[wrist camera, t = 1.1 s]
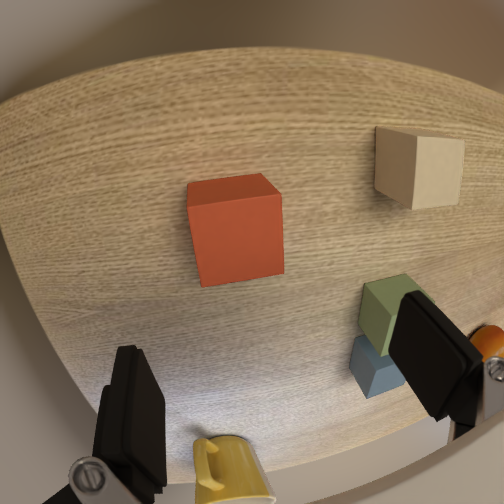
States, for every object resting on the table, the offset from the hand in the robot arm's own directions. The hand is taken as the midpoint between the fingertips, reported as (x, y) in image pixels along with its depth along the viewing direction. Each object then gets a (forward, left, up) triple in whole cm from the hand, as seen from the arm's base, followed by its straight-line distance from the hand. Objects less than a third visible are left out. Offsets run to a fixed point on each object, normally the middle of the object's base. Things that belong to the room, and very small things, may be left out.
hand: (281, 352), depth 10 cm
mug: (+31, -5, -13) cm, 34 cm away
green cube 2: (+11, +14, -13) cm, 22 cm away
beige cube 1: (-3, +14, -13) cm, 19 cm away
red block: (0, 0, -13) cm, 13 cm away
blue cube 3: (+18, +14, -13) cm, 26 cm away
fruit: (+26, +37, -13) cm, 47 cm away
